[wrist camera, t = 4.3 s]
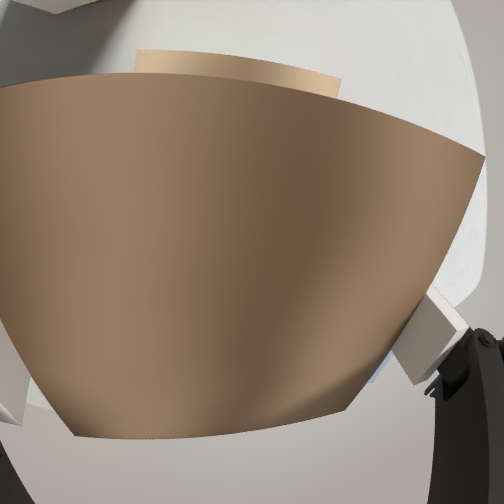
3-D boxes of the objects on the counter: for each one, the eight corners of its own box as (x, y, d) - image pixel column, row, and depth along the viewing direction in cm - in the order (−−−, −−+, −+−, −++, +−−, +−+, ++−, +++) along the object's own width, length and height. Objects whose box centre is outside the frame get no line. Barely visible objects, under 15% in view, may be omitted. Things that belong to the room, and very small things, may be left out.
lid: (78, 387, 11) (74, 435, 9) (8, 86, 4) (-51, 102, 2) (325, 370, 14) (344, 410, 12) (427, 129, 8) (485, 156, 6)
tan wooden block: (142, 287, 19) (138, 332, 16) (148, 55, 12) (136, 50, 8) (259, 287, 21) (275, 329, 18) (305, 75, 14) (341, 79, 10)
